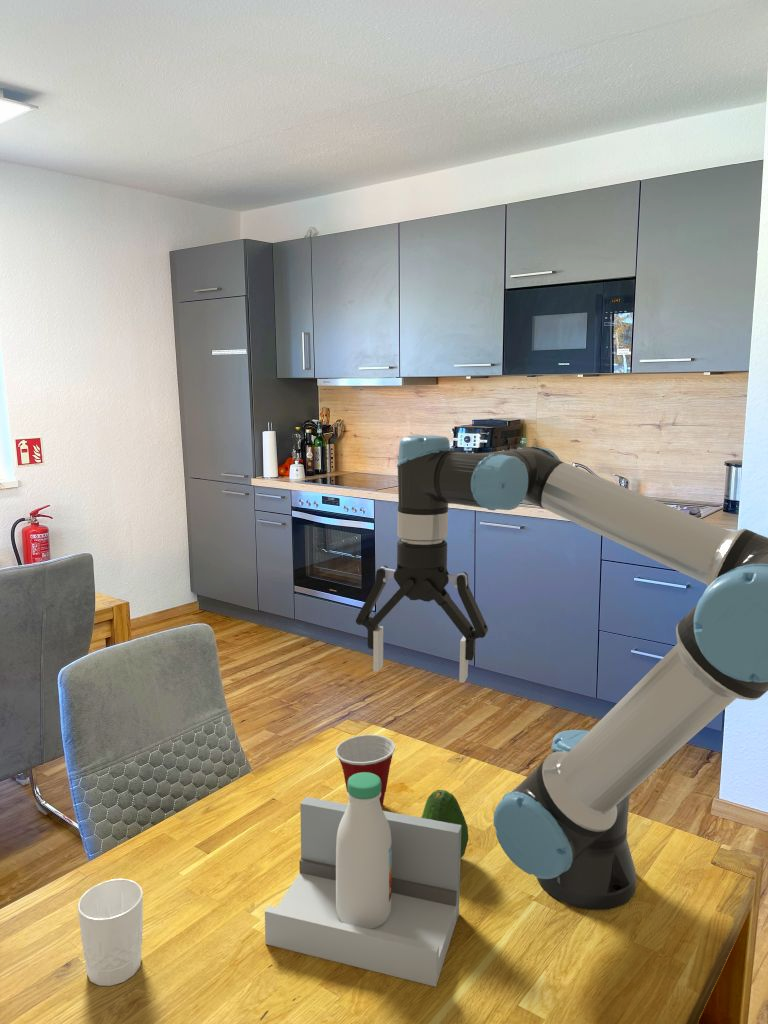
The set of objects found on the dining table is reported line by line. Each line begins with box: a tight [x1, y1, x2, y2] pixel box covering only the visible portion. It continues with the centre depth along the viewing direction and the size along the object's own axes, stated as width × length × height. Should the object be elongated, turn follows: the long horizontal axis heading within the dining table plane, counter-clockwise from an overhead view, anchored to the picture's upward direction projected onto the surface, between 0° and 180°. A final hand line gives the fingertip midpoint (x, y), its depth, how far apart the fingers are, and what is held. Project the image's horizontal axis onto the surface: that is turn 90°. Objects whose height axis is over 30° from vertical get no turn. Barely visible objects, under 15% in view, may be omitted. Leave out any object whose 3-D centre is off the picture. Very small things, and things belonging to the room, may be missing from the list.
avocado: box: [421, 789, 469, 860], centre depth 120 cm, size 8×8×12 cm
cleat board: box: [264, 796, 462, 988], centre depth 105 cm, size 24×14×14 cm, turn 72°
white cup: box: [77, 878, 144, 987], centre depth 98 cm, size 8×8×10 cm
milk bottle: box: [336, 772, 392, 929], centre depth 103 cm, size 8×8×20 cm
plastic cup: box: [334, 734, 396, 808], centre depth 135 cm, size 11×11×12 cm
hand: (420, 674), depth 116 cm, fingers open, 13 cm apart
